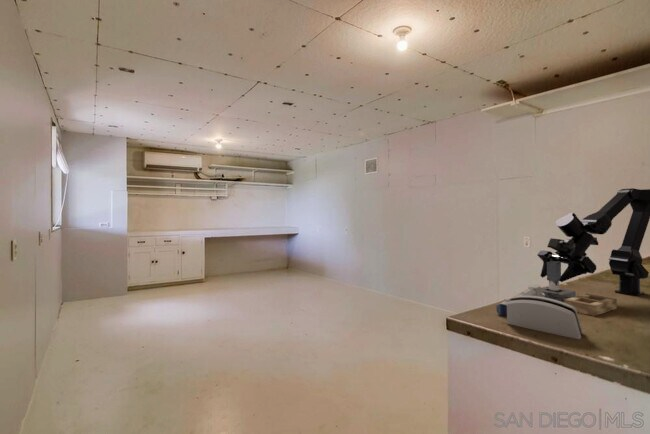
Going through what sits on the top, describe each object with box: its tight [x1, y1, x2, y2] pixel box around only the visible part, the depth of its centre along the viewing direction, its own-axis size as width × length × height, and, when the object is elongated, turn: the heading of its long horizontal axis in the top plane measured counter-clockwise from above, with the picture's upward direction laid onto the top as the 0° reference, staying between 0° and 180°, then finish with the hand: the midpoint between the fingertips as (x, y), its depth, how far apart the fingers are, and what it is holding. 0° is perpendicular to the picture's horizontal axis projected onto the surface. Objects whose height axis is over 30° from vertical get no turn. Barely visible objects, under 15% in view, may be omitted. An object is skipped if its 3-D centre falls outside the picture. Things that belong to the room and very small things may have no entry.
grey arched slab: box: [506, 295, 583, 340], centre depth 87 cm, size 17×5×10 cm, turn 43°
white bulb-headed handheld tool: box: [495, 283, 545, 317], centre depth 106 cm, size 5×7×25 cm
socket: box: [541, 285, 577, 302], centre depth 115 cm, size 9×9×3 cm
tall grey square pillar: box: [546, 261, 562, 292], centre depth 115 cm, size 3×3×13 cm
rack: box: [564, 293, 618, 317], centre depth 103 cm, size 14×8×3 cm, turn 118°
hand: (550, 278), depth 115 cm, fingers open, 7 cm apart
